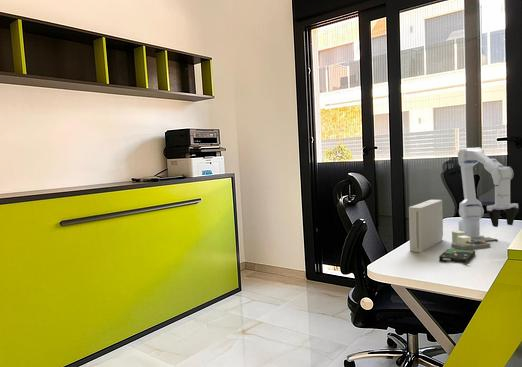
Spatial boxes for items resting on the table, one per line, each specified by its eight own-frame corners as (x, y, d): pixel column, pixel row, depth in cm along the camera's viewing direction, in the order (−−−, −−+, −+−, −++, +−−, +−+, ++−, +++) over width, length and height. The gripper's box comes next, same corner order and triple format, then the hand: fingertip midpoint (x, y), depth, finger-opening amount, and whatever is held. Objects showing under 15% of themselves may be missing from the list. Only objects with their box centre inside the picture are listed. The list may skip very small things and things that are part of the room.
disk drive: (467, 266, 154) (475, 256, 165) (467, 259, 153) (475, 250, 165) (438, 263, 160) (448, 253, 171) (438, 256, 160) (448, 247, 171)
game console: (408, 251, 178) (407, 207, 176) (430, 239, 197) (430, 199, 196) (421, 253, 174) (420, 207, 172) (443, 240, 193) (442, 199, 192)
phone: (468, 241, 189) (468, 239, 188) (488, 239, 191) (488, 236, 191) (477, 244, 183) (477, 241, 183) (497, 241, 186) (497, 239, 185)
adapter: (456, 247, 178) (456, 236, 177) (464, 246, 179) (464, 235, 178) (468, 251, 171) (468, 239, 170) (476, 250, 171) (476, 238, 171)
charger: (452, 244, 186) (452, 231, 185) (459, 243, 187) (459, 230, 186) (458, 246, 182) (458, 233, 181) (465, 245, 183) (465, 232, 182)
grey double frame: (451, 247, 179) (451, 242, 179) (478, 244, 182) (478, 239, 182) (462, 251, 172) (462, 246, 172) (490, 248, 175) (490, 243, 175)
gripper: (495, 197, 167) (495, 229, 168) (524, 194, 170) (524, 225, 172) (482, 195, 174) (483, 226, 175) (510, 192, 177) (510, 223, 178)
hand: (502, 225), depth 174 cm, fingers open, 7 cm apart
